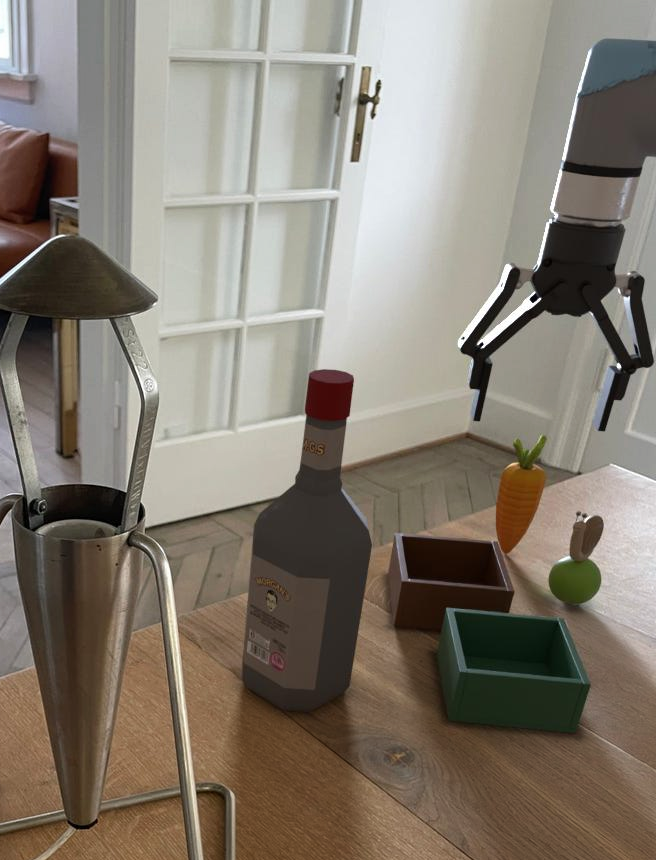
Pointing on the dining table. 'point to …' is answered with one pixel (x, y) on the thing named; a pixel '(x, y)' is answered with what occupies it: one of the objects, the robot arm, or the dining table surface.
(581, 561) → the snail figurine
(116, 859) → the dining table surface
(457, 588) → the brown bin
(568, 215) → the robot arm
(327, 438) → the liquor
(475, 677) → the green bin
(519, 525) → the carrot
